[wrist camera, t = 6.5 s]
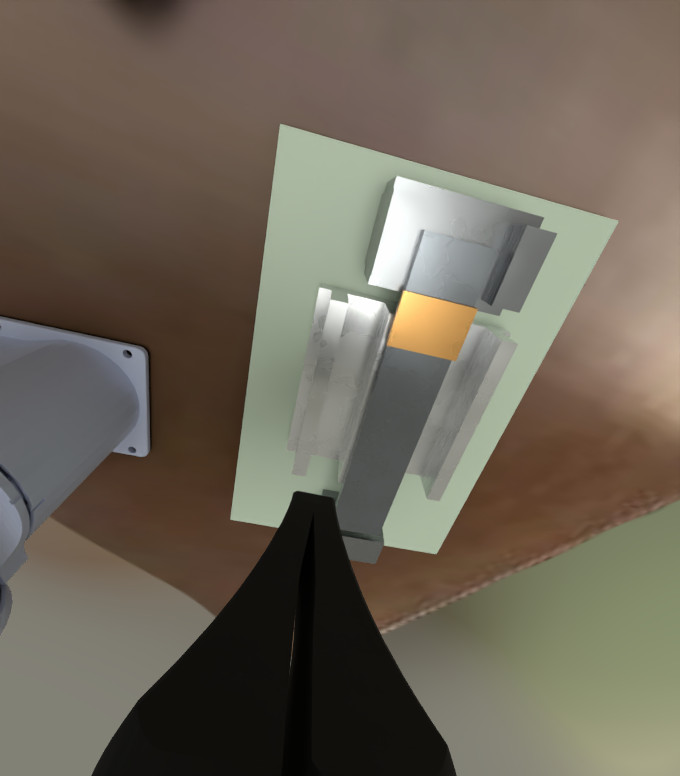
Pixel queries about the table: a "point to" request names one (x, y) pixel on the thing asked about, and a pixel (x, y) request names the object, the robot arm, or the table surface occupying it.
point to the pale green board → (346, 270)
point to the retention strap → (411, 373)
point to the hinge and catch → (461, 221)
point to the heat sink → (356, 377)
